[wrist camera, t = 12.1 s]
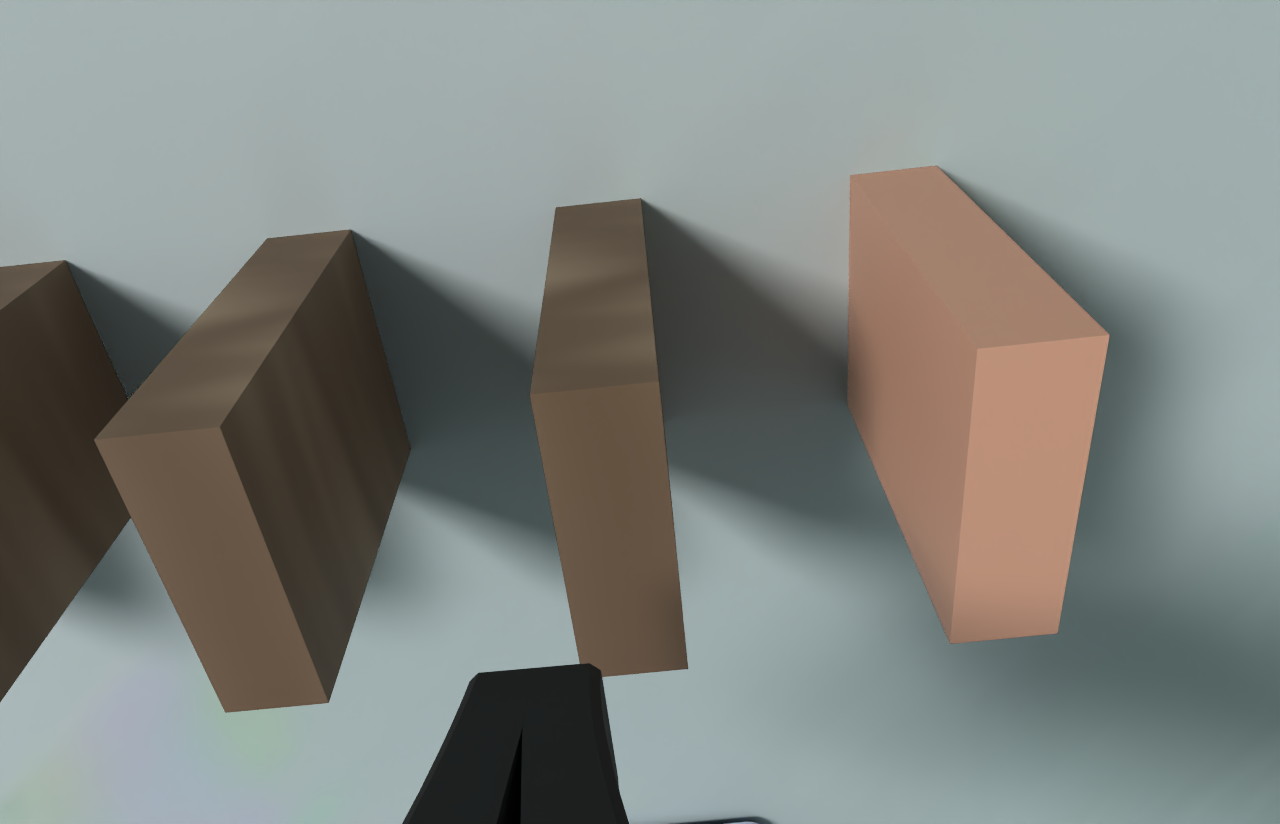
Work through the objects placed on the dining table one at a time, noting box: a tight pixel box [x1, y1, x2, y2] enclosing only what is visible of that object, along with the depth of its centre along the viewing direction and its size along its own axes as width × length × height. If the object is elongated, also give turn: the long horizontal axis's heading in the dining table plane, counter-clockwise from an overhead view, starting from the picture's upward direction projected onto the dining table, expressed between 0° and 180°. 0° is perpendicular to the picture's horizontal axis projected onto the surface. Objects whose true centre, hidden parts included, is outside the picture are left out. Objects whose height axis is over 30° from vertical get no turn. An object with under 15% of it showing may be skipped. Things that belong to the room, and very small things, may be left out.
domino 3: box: [530, 198, 688, 677], centre depth 16 cm, size 2×5×7 cm, turn 6°
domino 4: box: [847, 166, 1110, 644], centre depth 16 cm, size 2×5×7 cm, turn 6°
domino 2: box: [94, 230, 411, 713], centre depth 16 cm, size 2×5×7 cm, turn 6°
